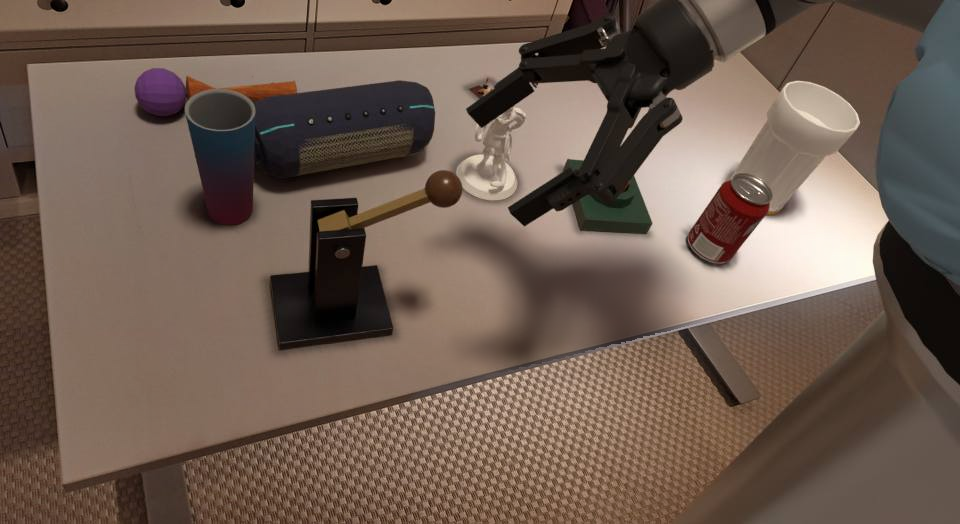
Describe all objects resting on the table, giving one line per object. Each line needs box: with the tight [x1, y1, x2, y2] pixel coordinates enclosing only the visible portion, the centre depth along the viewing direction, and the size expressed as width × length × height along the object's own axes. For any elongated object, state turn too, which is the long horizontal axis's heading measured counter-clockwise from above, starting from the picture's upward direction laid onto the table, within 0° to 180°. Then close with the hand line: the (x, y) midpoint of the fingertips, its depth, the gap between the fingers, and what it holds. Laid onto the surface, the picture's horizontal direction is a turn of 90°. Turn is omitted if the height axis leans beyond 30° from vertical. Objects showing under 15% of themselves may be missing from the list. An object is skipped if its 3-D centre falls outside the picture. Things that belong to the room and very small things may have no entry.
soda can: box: [687, 173, 773, 264], centre depth 89 cm, size 7×7×12 cm
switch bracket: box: [269, 197, 394, 350], centre depth 67 cm, size 12×9×15 cm
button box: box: [562, 158, 654, 235], centre depth 93 cm, size 12×10×4 cm
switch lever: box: [318, 169, 464, 231], centre depth 63 cm, size 14×4×4 cm, turn 107°
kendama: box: [133, 67, 298, 117], centre depth 88 cm, size 6×6×20 cm
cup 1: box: [184, 88, 256, 226], centre depth 73 cm, size 7×7×15 cm
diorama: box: [468, 77, 493, 100], centre depth 105 cm, size 3×4×2 cm
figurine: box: [455, 105, 527, 201], centre depth 87 cm, size 9×9×15 cm
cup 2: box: [728, 80, 861, 216], centre depth 97 cm, size 11×11×17 cm
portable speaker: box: [252, 80, 436, 179], centre depth 85 cm, size 25×10×10 cm, turn 118°
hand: (493, 165), depth 63 cm, fingers open, 13 cm apart
